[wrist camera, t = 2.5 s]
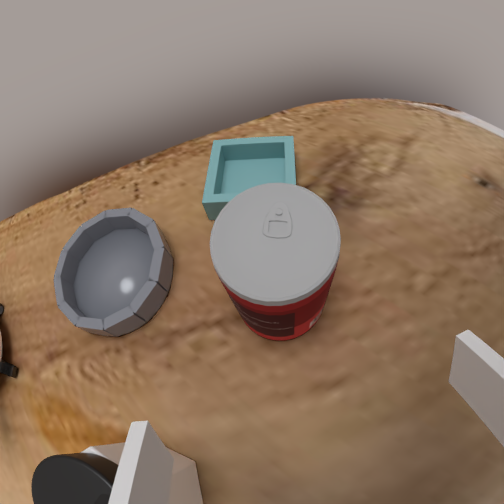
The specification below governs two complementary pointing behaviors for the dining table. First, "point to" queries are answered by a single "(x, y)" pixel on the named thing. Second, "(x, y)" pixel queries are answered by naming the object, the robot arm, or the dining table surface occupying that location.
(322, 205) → the canned food
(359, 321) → the dining table surface
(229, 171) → the square tray
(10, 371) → the coffee press
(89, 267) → the round gray bowl
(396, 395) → the dining table surface
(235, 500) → the dining table surface
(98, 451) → the jar
